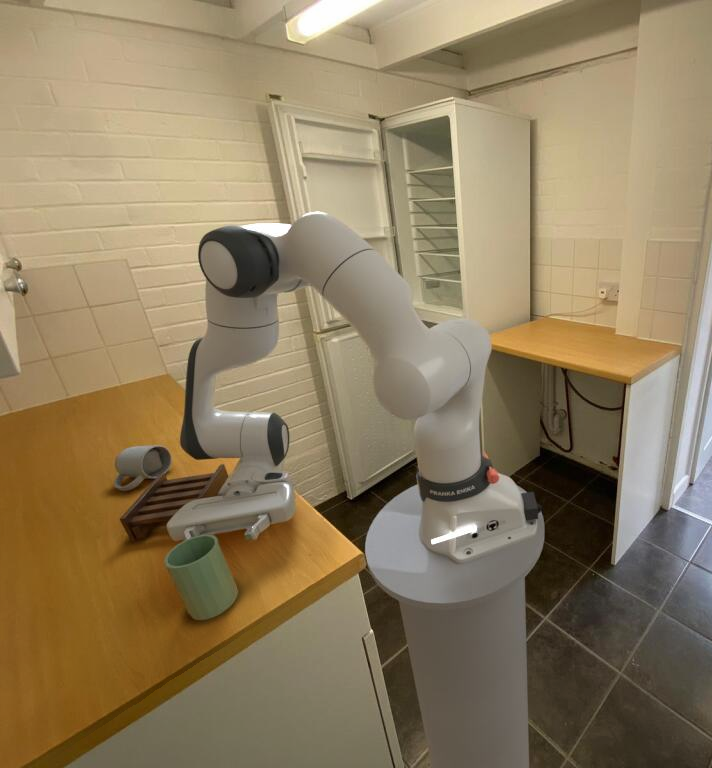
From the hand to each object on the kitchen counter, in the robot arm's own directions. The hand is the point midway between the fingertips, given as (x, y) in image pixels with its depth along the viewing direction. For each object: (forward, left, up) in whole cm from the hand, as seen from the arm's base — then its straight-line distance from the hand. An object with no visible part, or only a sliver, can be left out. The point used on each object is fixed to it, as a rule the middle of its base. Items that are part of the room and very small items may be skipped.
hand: (219, 543), depth 71 cm
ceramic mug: (+30, -36, -6) cm, 47 cm away
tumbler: (0, +7, -6) cm, 9 cm away
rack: (+15, -20, -6) cm, 26 cm away
